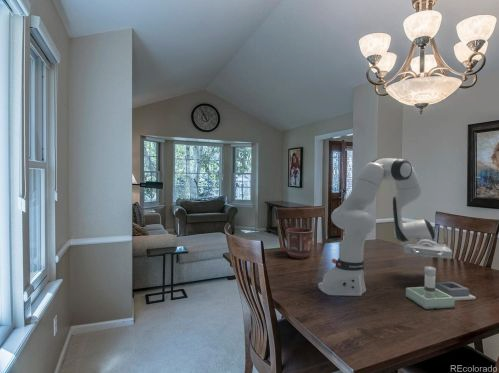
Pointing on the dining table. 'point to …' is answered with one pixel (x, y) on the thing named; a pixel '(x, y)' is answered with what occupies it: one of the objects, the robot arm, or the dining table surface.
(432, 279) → the cylinder
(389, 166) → the robot arm
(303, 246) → the pottery
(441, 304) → the parts tray
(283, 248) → the dining table surface
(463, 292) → the fuse board
